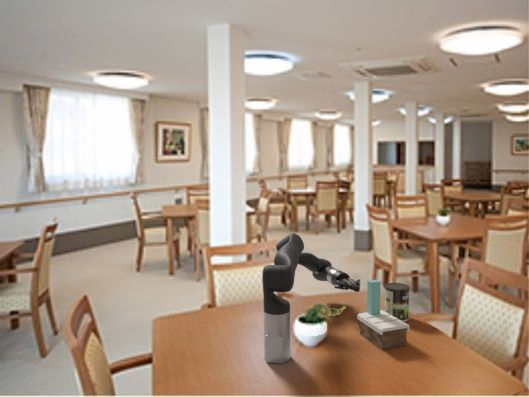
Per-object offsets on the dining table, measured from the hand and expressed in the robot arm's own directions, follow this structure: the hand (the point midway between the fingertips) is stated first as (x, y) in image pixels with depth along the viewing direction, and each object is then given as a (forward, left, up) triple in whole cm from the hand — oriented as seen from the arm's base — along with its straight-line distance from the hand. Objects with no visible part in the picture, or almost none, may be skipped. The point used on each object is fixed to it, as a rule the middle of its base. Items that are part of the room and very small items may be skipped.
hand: (358, 289), depth 192 cm
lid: (-15, -10, -8) cm, 20 cm away
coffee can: (+10, -16, -15) cm, 24 cm away
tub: (-15, -10, -15) cm, 23 cm away
